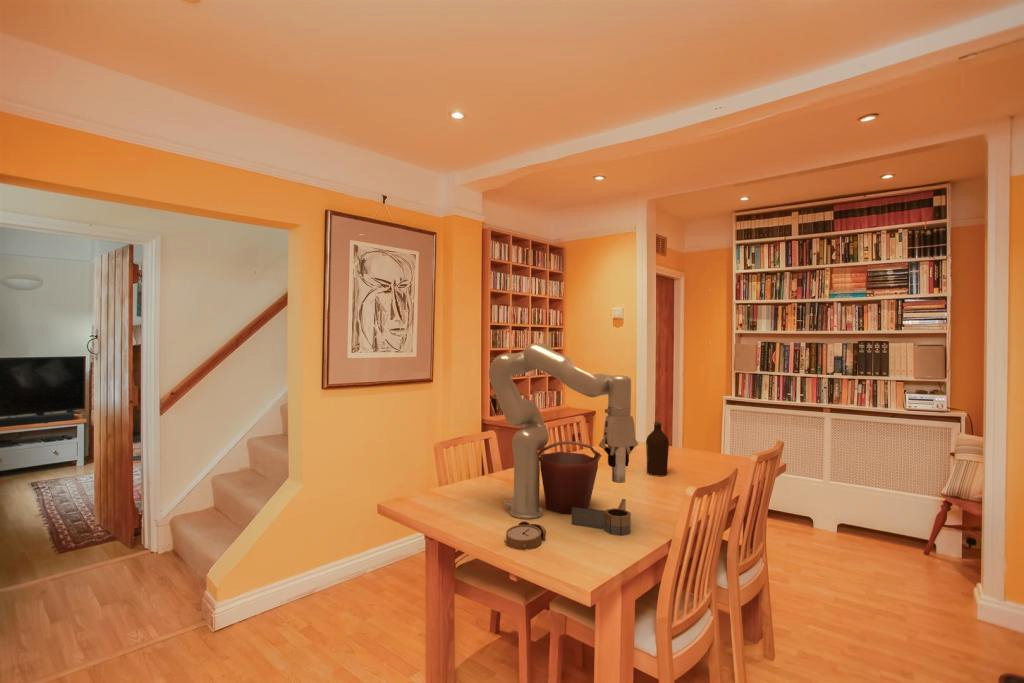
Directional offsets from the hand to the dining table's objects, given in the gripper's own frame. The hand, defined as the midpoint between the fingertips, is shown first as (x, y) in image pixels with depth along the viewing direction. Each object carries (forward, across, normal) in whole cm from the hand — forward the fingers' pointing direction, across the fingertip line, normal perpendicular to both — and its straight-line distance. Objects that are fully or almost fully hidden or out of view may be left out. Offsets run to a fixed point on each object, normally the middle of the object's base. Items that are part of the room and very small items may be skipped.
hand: (618, 465), depth 171 cm
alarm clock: (+23, -32, 0) cm, 40 cm away
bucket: (+22, -7, +26) cm, 35 cm away
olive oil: (+22, +56, +59) cm, 84 cm away
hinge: (+22, -1, +8) cm, 24 cm away
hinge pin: (+5, 0, 0) cm, 5 cm away
